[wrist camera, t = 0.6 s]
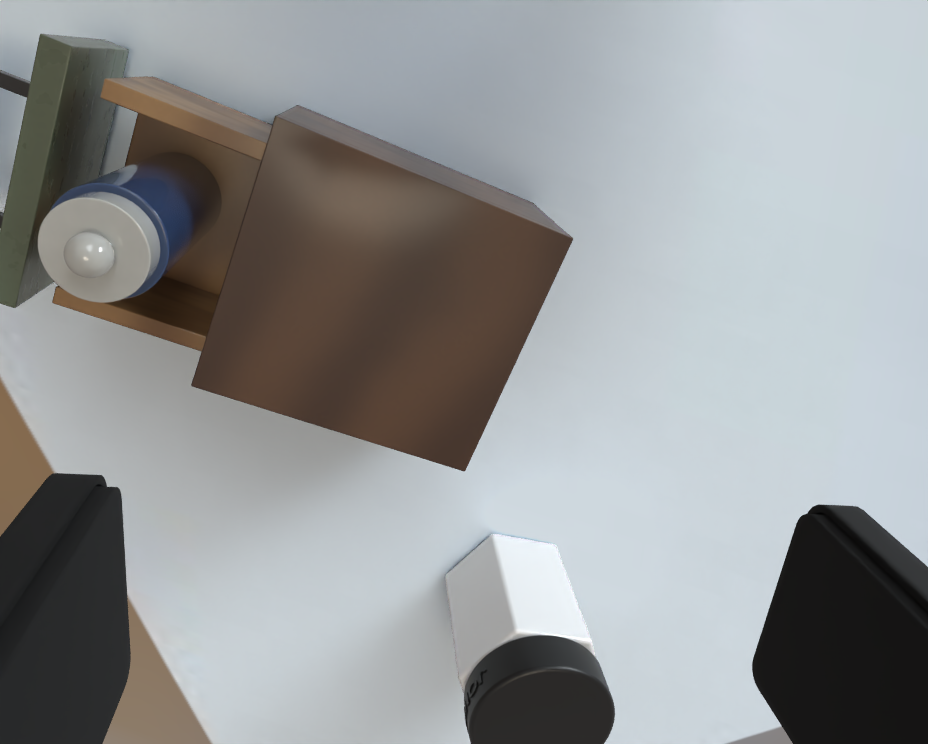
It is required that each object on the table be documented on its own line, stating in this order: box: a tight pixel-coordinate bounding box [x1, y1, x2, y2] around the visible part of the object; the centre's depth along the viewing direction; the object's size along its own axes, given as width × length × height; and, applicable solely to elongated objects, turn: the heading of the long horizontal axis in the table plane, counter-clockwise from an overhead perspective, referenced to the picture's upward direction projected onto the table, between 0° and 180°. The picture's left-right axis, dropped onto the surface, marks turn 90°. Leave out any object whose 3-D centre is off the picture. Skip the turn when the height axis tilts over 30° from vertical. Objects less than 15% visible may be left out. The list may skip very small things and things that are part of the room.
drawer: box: [0, 34, 272, 351], centre depth 35 cm, size 17×11×7 cm
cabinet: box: [191, 105, 573, 471], centre depth 38 cm, size 14×13×9 cm
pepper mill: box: [38, 152, 222, 303], centre depth 31 cm, size 4×4×13 cm
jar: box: [445, 534, 615, 744], centre depth 46 cm, size 9×8×12 cm
